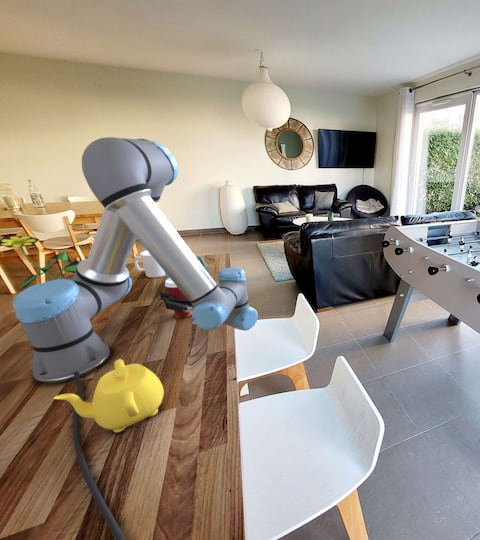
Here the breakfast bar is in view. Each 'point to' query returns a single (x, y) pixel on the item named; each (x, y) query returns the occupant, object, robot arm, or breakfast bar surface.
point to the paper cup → (176, 296)
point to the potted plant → (29, 241)
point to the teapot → (121, 397)
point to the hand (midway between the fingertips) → (173, 291)
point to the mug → (149, 265)
